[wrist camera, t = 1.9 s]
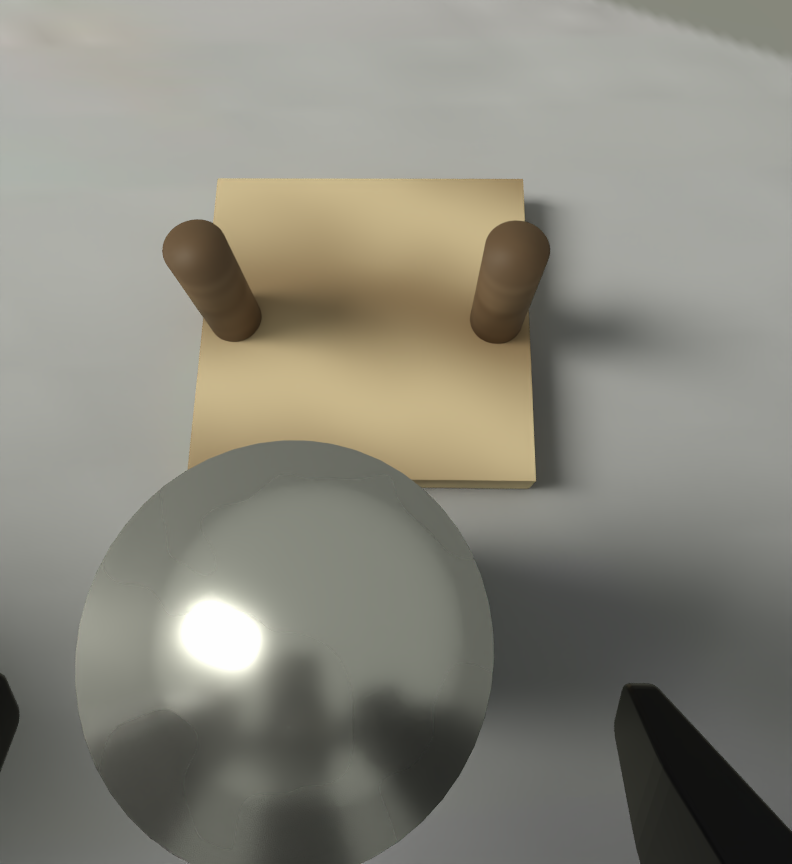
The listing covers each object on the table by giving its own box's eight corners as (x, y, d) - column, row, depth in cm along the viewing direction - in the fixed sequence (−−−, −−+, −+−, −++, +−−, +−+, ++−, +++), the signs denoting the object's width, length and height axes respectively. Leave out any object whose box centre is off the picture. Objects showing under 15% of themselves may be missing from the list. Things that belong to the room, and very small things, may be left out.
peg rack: (528, 488, 20) (569, 445, 15) (199, 485, 20) (129, 441, 15) (517, 201, 22) (548, 82, 17) (227, 200, 23) (175, 83, 18)
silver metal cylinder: (472, 649, 18) (579, 708, 7) (334, 745, 18) (199, 987, 6) (384, 514, 20) (351, 370, 8) (251, 600, 19) (7, 580, 7)
